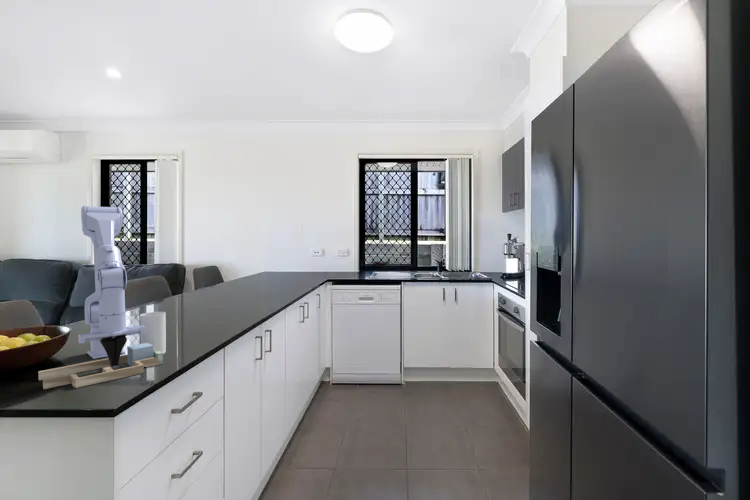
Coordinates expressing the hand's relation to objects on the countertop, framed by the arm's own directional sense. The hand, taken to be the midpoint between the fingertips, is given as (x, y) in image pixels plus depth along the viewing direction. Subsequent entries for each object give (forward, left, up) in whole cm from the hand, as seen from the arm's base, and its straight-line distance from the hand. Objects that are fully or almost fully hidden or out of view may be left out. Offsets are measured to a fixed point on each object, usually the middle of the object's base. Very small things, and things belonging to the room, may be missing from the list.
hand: (114, 365), depth 105 cm
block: (0, +6, -1) cm, 6 cm away
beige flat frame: (+2, -2, -1) cm, 3 cm away
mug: (-10, +13, -1) cm, 16 cm away
